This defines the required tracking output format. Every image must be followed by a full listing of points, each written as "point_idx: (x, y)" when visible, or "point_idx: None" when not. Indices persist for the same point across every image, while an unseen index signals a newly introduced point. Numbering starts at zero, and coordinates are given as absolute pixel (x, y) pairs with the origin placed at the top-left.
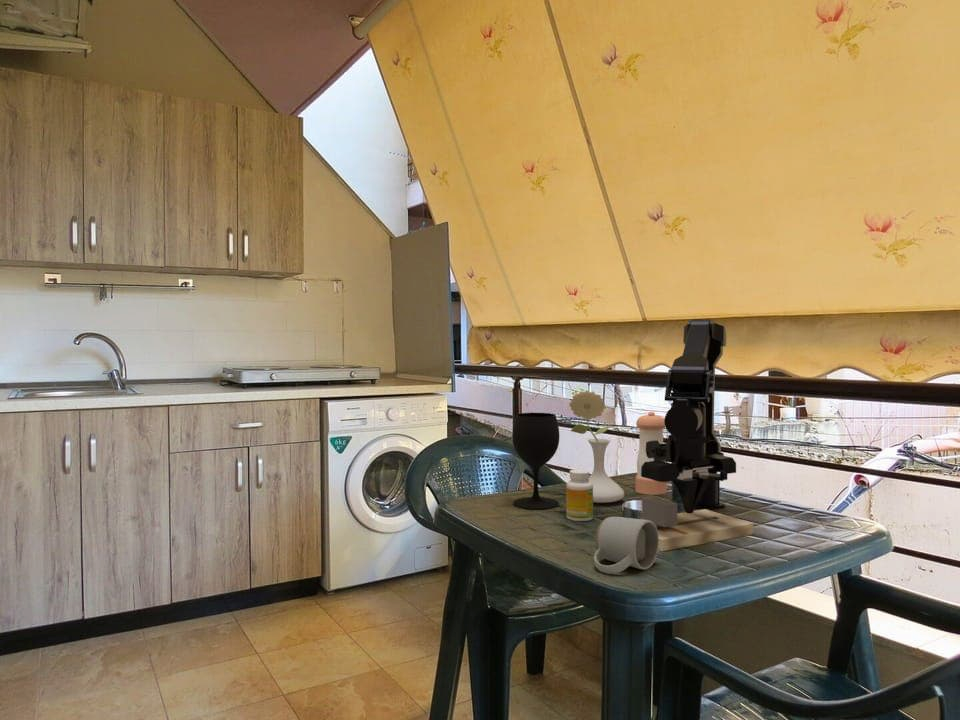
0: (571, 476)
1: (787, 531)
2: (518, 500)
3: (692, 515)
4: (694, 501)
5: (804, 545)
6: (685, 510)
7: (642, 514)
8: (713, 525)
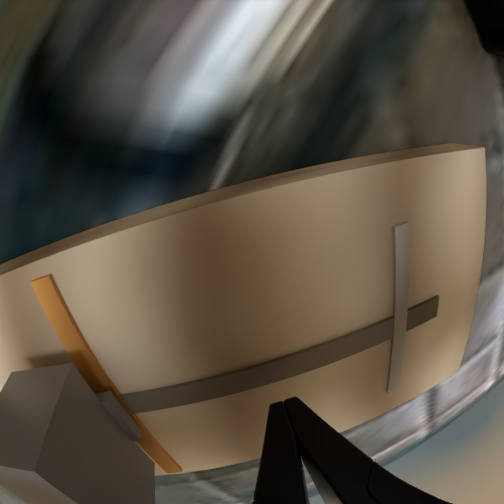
0: None
1: (501, 324)
2: None
3: (376, 246)
4: (315, 485)
5: (443, 410)
6: (269, 414)
7: (3, 389)
8: (342, 404)
